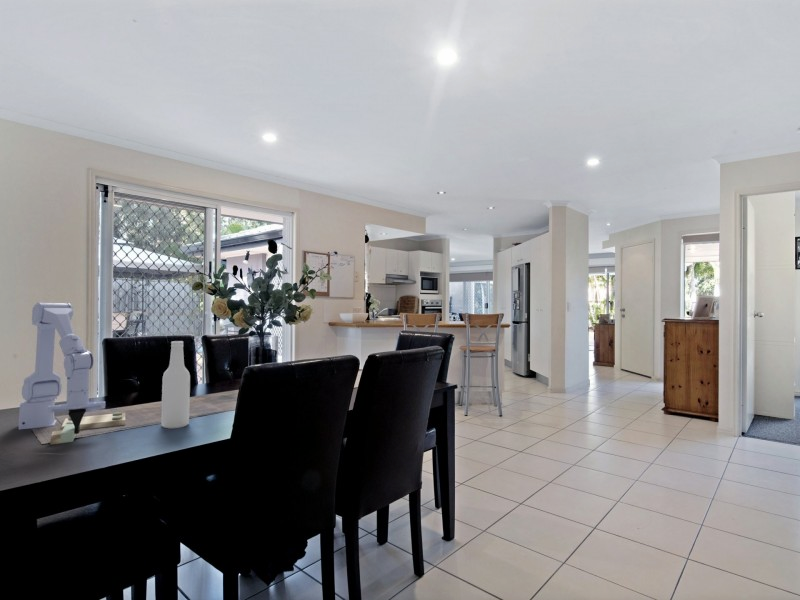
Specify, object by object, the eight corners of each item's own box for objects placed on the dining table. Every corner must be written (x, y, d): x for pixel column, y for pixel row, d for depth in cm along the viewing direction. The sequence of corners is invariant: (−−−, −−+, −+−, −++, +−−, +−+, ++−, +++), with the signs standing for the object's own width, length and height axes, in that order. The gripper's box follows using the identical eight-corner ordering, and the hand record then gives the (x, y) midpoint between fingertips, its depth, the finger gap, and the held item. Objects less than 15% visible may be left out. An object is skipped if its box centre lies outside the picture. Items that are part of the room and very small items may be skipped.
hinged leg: (66, 431, 144) (67, 421, 145) (78, 429, 146) (78, 420, 146) (60, 443, 132) (60, 432, 132) (73, 441, 134) (73, 431, 134)
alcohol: (156, 429, 150) (158, 342, 150) (168, 422, 158) (170, 340, 159) (182, 429, 150) (184, 342, 151) (193, 422, 159) (195, 340, 159)
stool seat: (50, 445, 131) (50, 435, 131) (61, 424, 153) (61, 416, 154) (125, 436, 141) (125, 426, 141) (125, 417, 164) (125, 409, 164)
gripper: (46, 394, 131) (45, 439, 131) (104, 390, 139) (103, 433, 138) (51, 390, 137) (50, 433, 137) (106, 386, 145) (105, 427, 144)
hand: (76, 433), depth 138 cm, fingers closed
